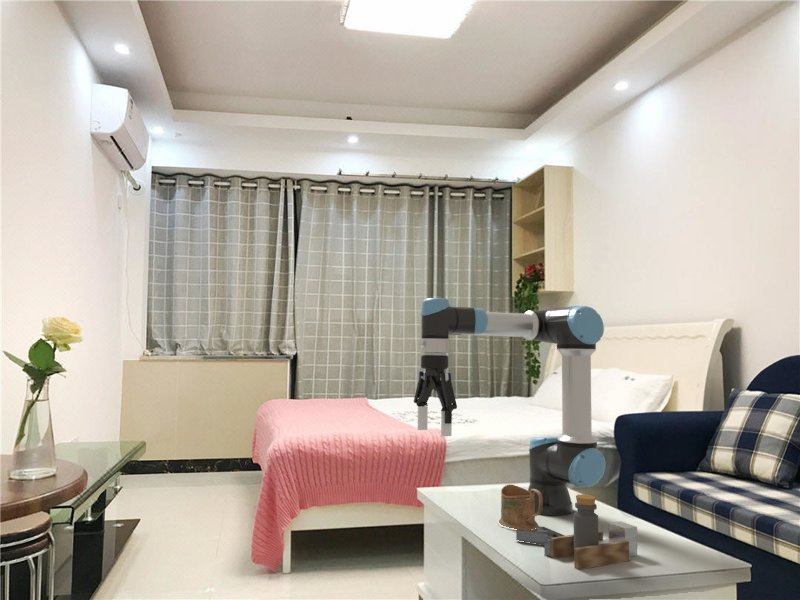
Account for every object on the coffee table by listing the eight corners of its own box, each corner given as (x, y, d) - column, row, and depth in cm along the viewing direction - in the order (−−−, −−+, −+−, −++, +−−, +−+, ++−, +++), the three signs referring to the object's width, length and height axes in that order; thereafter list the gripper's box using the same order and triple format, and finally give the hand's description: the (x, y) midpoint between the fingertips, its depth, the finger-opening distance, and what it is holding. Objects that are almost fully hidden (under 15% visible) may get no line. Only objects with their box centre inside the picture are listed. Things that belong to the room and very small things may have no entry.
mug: (523, 538, 166) (523, 493, 167) (490, 521, 183) (490, 480, 184) (559, 534, 171) (558, 490, 172) (523, 518, 187) (523, 478, 188)
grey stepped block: (620, 549, 159) (620, 521, 160) (637, 555, 154) (636, 526, 155) (591, 553, 155) (590, 525, 155) (606, 560, 150) (606, 531, 150)
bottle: (584, 564, 147) (584, 500, 148) (568, 556, 152) (568, 494, 153) (604, 561, 149) (603, 498, 150) (587, 554, 154) (587, 492, 156)
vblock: (541, 537, 168) (541, 525, 168) (575, 552, 156) (575, 539, 156) (514, 540, 164) (514, 529, 165) (547, 556, 152) (546, 544, 152)
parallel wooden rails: (599, 548, 159) (599, 530, 159) (629, 560, 150) (629, 541, 150) (550, 556, 152) (550, 537, 153) (577, 569, 143) (577, 549, 144)
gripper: (402, 353, 179) (401, 427, 177) (445, 354, 156) (444, 439, 155) (425, 354, 182) (425, 426, 180) (470, 355, 159) (469, 438, 158)
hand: (433, 433), depth 167 cm, fingers open, 13 cm apart
